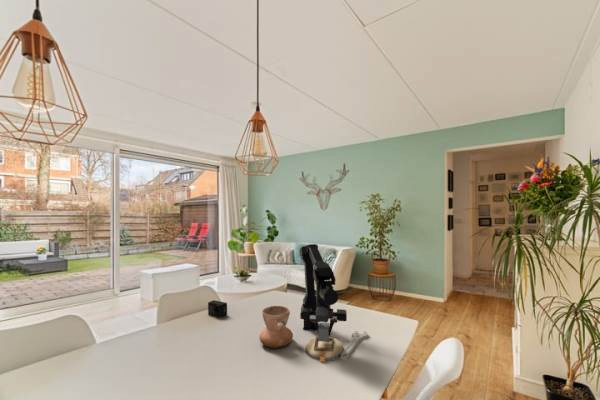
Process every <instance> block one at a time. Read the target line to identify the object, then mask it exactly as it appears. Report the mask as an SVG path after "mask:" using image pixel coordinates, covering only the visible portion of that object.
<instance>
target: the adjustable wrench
mask: <svg viewBox="0 0 600 400" xmlns="http://www.w3.org/2000/svg"><path fill="white" fill-rule="evenodd" d="M368 334H369V333H368V332H367V331H365V330H363V333H359V331H358V330H355V331H353V332H352V333H351V337H352V338H353V339H352V340H351V341H350V342H349V344H348V345H347V346H346V347H345V348H344V351H343V352H342V353H341V357H340V359H342V360H347V359H348V358H349V357H350V355H351V354H352V352H353V351H354V349H355V348H356V347H357V345H358V344H359V342H360V341H363V340H366V339H367V338H368V337H369V336H368Z"/></svg>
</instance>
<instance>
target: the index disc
mask: <svg viewBox="0 0 600 400" xmlns="http://www.w3.org/2000/svg"><path fill="white" fill-rule="evenodd" d="M305 348H306V351H307V353H308V354H310V355H311V356H313V357H316V358H320V355H323V356H325V359H329V358H334V357H337V356H339V355H340V354H341V353H342V352H343V348H344V345H343V343H342V342H341V340H339V339H337V338H334V337H330V336H329V342H324V341H319V340H318V336H316V337H313V338H311V339H310V340H308V341H307V342H306V345H305Z"/></svg>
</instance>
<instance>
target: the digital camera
mask: <svg viewBox="0 0 600 400" xmlns="http://www.w3.org/2000/svg"><path fill="white" fill-rule="evenodd" d="M207 315H208V316H213V317H216V318H220V319H221V318H224V317H226V316H228V303H227V302H226V301H219V300H211V301H208V302H207Z"/></svg>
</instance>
